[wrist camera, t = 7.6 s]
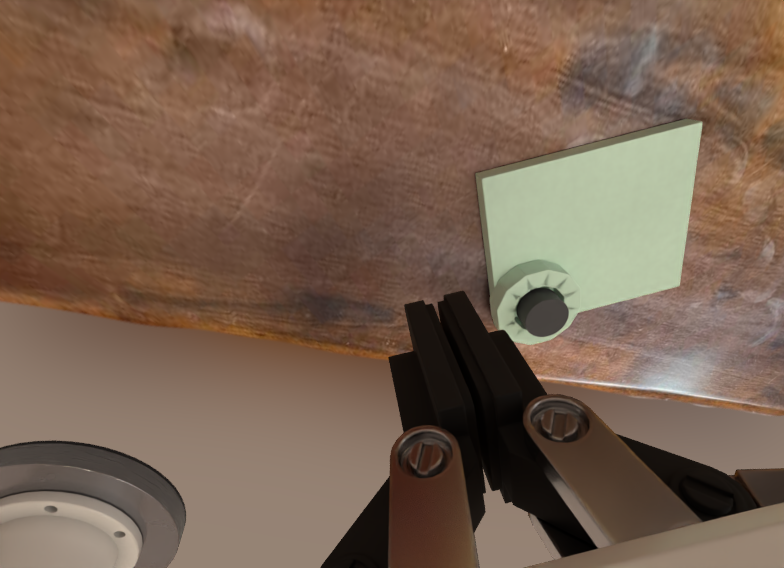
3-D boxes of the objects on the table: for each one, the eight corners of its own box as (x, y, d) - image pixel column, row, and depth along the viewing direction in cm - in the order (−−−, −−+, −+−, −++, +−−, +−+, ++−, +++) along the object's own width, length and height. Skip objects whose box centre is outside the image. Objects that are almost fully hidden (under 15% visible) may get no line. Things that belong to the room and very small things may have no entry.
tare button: (517, 329, 30) (526, 342, 29) (514, 293, 29) (523, 305, 27) (558, 318, 30) (569, 330, 29) (557, 282, 29) (568, 294, 27)
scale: (488, 329, 33) (501, 353, 30) (467, 174, 27) (482, 187, 24) (666, 282, 33) (695, 302, 31) (686, 118, 27) (724, 125, 24)
